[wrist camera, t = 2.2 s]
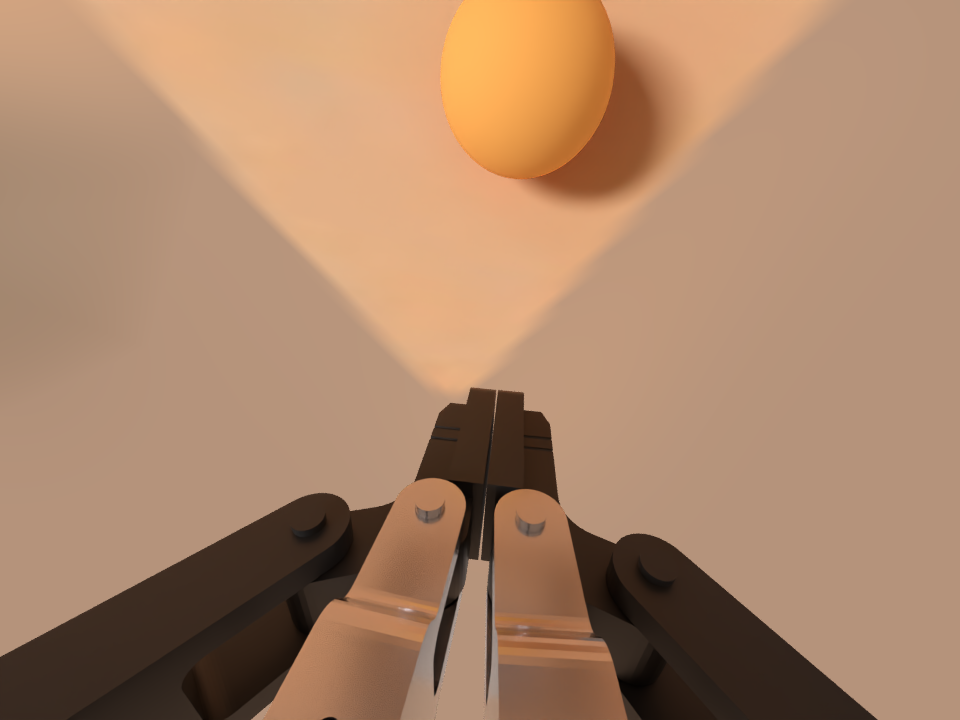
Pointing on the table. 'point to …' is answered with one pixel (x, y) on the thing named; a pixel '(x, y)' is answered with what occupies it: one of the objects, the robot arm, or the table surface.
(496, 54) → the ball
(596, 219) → the table surface
